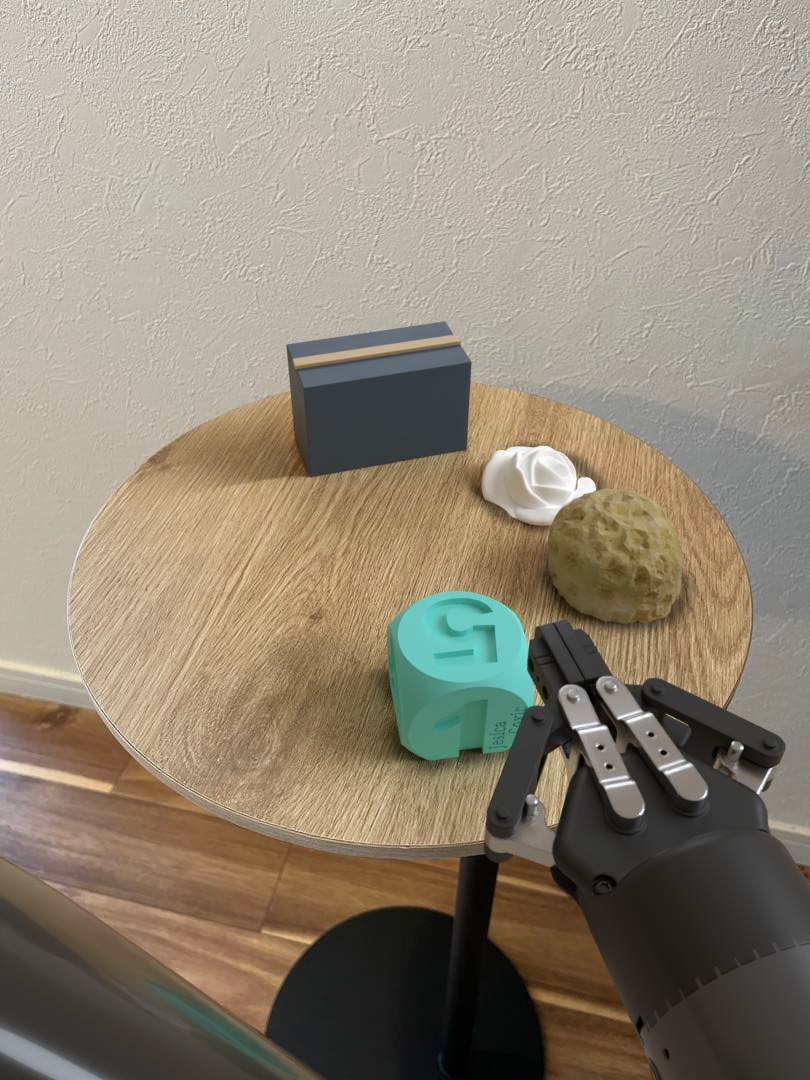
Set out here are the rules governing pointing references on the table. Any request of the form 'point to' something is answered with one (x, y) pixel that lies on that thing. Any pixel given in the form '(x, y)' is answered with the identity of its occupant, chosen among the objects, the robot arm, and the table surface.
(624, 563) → the rock
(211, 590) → the table surface
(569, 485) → the rose
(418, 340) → the box
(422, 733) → the decorative dice
